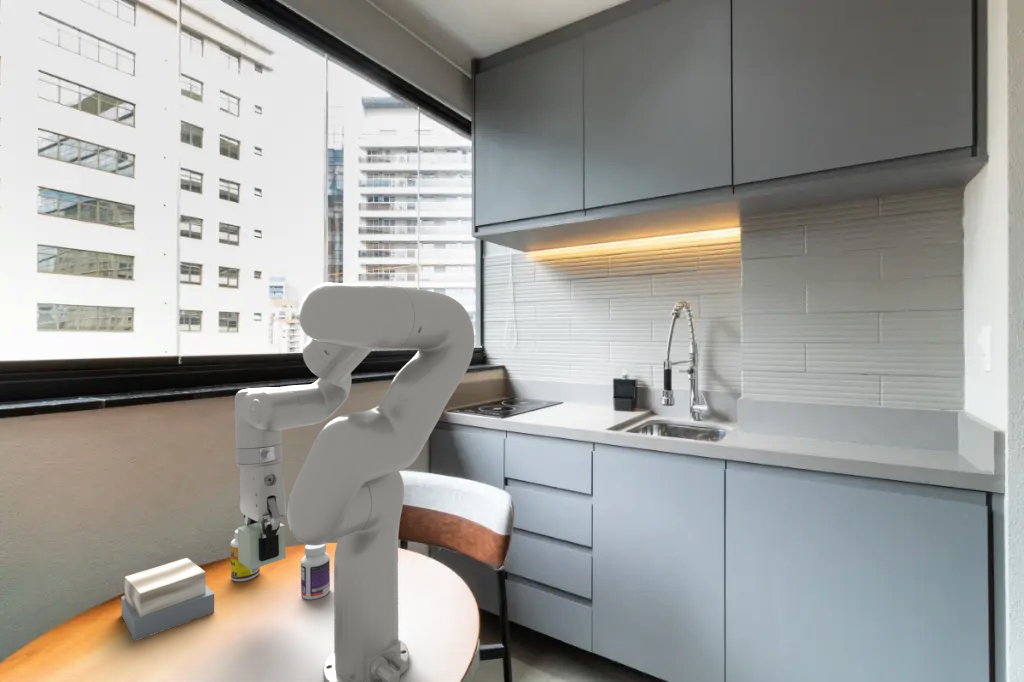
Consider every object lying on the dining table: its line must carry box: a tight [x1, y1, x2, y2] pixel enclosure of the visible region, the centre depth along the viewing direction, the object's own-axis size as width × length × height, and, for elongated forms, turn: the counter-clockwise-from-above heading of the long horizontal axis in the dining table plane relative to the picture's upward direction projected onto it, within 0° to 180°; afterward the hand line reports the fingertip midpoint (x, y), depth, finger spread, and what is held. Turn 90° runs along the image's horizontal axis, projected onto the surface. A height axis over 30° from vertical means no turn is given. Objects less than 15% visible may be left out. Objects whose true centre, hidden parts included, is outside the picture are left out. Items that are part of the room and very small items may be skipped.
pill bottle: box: [300, 543, 331, 601], centre depth 96 cm, size 5×5×10 cm
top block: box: [124, 557, 207, 617], centre depth 89 cm, size 10×10×4 cm
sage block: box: [237, 522, 287, 570], centre depth 87 cm, size 6×6×6 cm
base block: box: [120, 584, 215, 642], centre depth 89 cm, size 12×12×4 cm
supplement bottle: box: [230, 528, 261, 583], centre depth 104 cm, size 6×6×10 cm
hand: (261, 552), depth 87 cm, fingers closed on sage block, 6 cm apart
